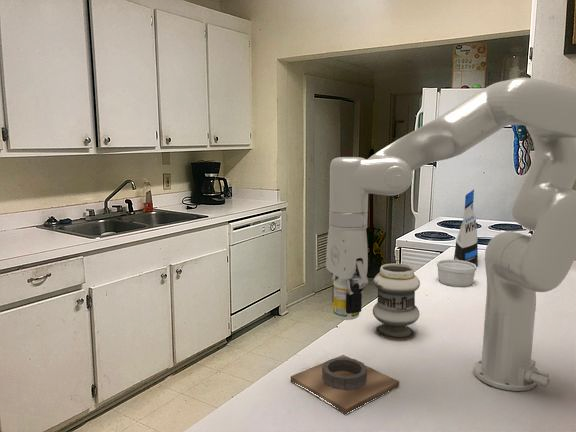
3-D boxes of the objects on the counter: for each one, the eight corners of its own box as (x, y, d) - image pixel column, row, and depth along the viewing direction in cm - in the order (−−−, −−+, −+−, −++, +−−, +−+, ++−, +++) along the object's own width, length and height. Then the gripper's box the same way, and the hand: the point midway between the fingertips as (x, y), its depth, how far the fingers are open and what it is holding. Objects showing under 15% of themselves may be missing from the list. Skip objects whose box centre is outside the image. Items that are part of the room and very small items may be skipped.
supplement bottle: (335, 321, 94) (336, 274, 92) (330, 311, 99) (331, 267, 98) (362, 320, 94) (363, 273, 93) (355, 310, 100) (357, 266, 98)
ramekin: (483, 286, 166) (484, 266, 165) (453, 290, 161) (454, 270, 160) (457, 276, 178) (458, 258, 177) (428, 279, 174) (429, 261, 172)
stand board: (399, 386, 98) (399, 370, 98) (345, 414, 88) (346, 396, 87) (343, 359, 110) (343, 344, 110) (290, 381, 100) (290, 365, 100)
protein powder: (448, 270, 186) (452, 194, 181) (458, 256, 207) (462, 188, 202) (473, 273, 181) (479, 195, 177) (481, 259, 203) (486, 189, 198)
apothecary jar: (362, 331, 126) (364, 266, 124) (390, 320, 134) (393, 258, 131) (399, 346, 117) (402, 276, 114) (427, 333, 125) (431, 267, 122)
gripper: (313, 214, 100) (313, 296, 103) (351, 228, 84) (349, 325, 87) (345, 212, 103) (344, 292, 106) (387, 226, 87) (384, 319, 90)
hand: (346, 306), depth 96 cm, fingers closed on supplement bottle, 5 cm apart
